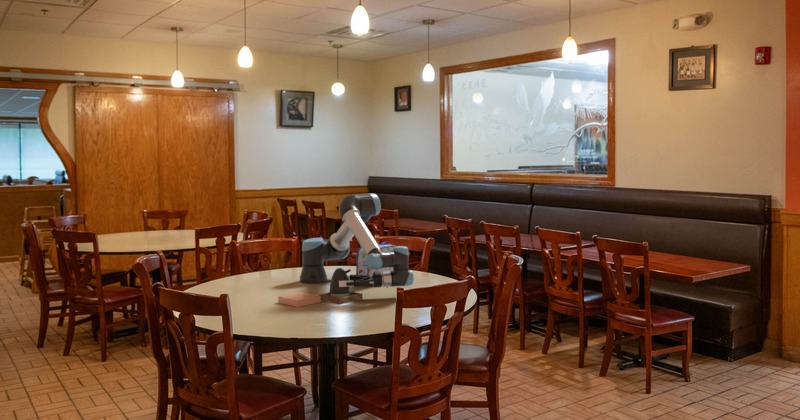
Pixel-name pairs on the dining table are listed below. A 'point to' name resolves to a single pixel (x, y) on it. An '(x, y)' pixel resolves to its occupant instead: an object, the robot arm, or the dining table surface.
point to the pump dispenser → (334, 284)
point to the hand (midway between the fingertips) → (337, 281)
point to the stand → (299, 299)
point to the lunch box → (362, 265)
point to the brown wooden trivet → (351, 297)
